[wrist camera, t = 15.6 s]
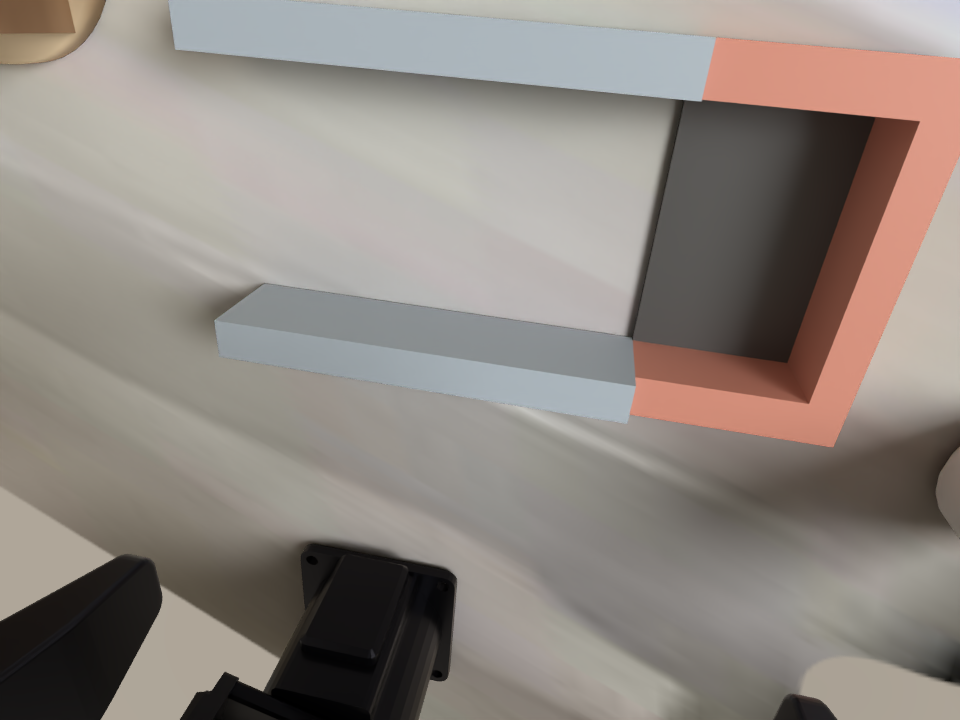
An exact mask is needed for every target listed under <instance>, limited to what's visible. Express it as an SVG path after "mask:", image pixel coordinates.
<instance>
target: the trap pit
mask: <svg viewBox="0 0 960 720" xmlns="http://www.w3.org/2000/svg"><path fill="white" fill-rule="evenodd" d="M959 156H960V58H948V57H937V56H925V55H914V54H902V53H890V52H879V51H867V50H856V49H844V48H833V47H821V46H809V45H798V44H786V43H775V42H763V41H752V40H740V39H728V38H717V37H716V41H715V45H714V49H713V54H712V58H711V62H710V67H709V71H708V75H707V80H706V84H705V88H704V93H703V97H702V101H701V102H700V101H690V100H684V102H683V107H682V111H681V116H680V121H679V125H678V130H677V134H676V139H675V144H674V148H673V153H672V158H671V162H670V167H669V171H668V176H667V181H666V185H665V190H664V194H663V199H662V204H661V208H660V213H659V217H658V222H657V227H656V231H655V236H654V240H653V245H652V250H651V254H650V259H649V263H648V268H647V273H646V277H645V282H644V286H643V291H642V296H641V300H640V305H639V309H638V314H637V319H636V323H635V328H634V332H633V337H632V339H633V353H634V366H635V380H636V388H635V393H634V397H633V401H632V406H631V410H630V415H636V416H642V417H648V418H654V419H660V420H667V421H673V422H679V423H685V424H691V425H697V426H704V427H710V428H716V429H722V430H728V431H734V432H740V433H747V434H753V435H759V436H765V437H771V438H777V439H784V440H790V441H796V442H802V443H808V444H814V445H821V446H827V447H834V445H835V442H836V440H837V438H838V435H839V433H840V431H841V428H842V426H843V424H844V421H845V419H846V417H847V415H848V412H849V410H850V408H851V405H852V403H853V401H854V398H855V396H856V394H857V391H858V389H859V387H860V385H861V382H862V380H863V378H864V375H865V373H866V371H867V368H868V366H869V364H870V361H871V359H872V357H873V354H874V352H875V350H876V348H877V345H878V343H879V341H880V338H881V336H882V334H883V331H884V329H885V327H886V324H887V322H888V320H889V318H890V315H891V313H892V311H893V308H894V306H895V304H896V301H897V299H898V297H899V294H900V292H901V290H902V287H903V285H904V283H905V281H906V278H907V276H908V274H909V271H910V269H911V267H912V264H913V262H914V260H915V257H916V255H917V253H918V251H919V248H920V246H921V244H922V241H923V239H924V237H925V234H926V232H927V230H928V227H929V225H930V223H931V220H932V218H933V216H934V214H935V211H936V209H937V207H938V204H939V202H940V200H941V197H942V195H943V193H944V190H945V188H946V186H947V184H948V181H949V179H950V177H951V174H952V172H953V170H954V167H955V165H956V163H957V160H958V158H959Z"/></svg>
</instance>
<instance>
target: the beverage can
mask: <svg viewBox="0 0 960 720" xmlns="http://www.w3.org/2000/svg"><path fill="white" fill-rule="evenodd" d="M936 497H937V502H938V507H939V510H940V511H941V513H942V514H943V516H944V517H945V519H946V520H947V522H948V523H949V524H950V526H951V527H952V529H953V530H954V532H955V533H956V535H957V536H958V538H959V539H960V447H959V448H958V449H956V450H955V451H954V452H953V453H952V455H951V456H950V458H949V459H948V461H947V463H946V464H945V466H944V467H943V469H942V470H941V472H940V474H939V477H938V482H937V487H936Z"/></svg>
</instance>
